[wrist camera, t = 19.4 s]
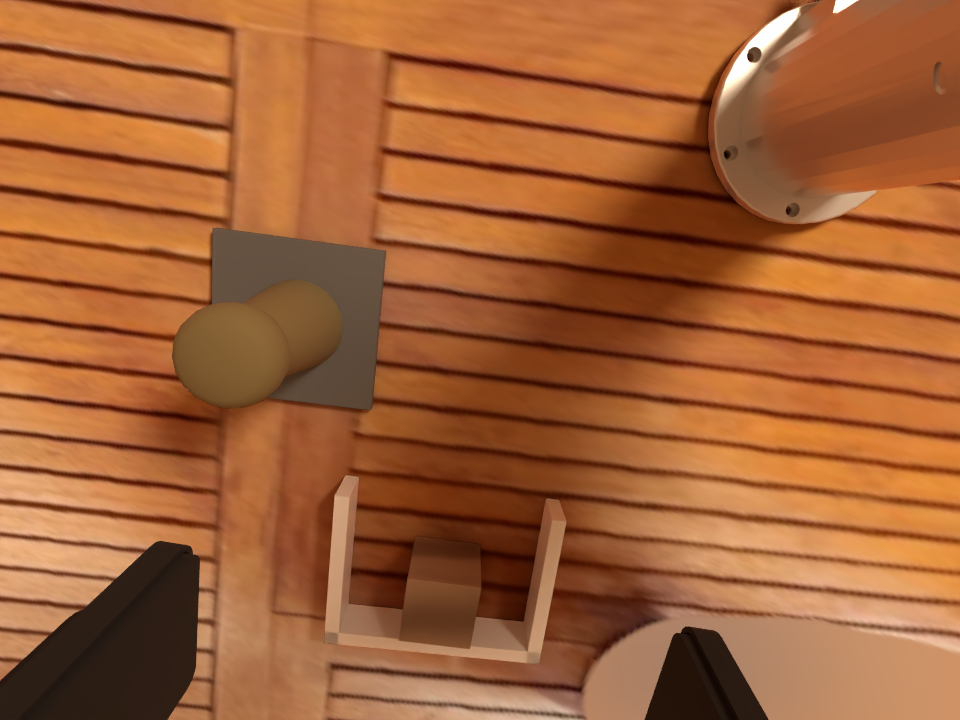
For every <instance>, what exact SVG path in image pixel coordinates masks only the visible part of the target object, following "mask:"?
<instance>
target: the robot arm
mask: <svg viewBox="0 0 960 720" xmlns="http://www.w3.org/2000/svg"><path fill="white" fill-rule="evenodd" d="M747 56H748V57H749V61H748V59H747ZM708 140H709V148H710V155H711V159H712V162H713V165H714V168H715V171H716V174H717V176H718V178H719V179H720V181H721V183H722V184H723V186H724V188H725V190H726V191H727V192H728V193H729V194H730V195H731V197H732V198H733V199H734V200H735V201H736V202H737V203H738V204H739V205H741V206H742V207H743V208H745V209H746V210H747V211H749V212H750V213H752V214H754V215H756V216H758V217H761V218H763V219H765V220H768V221H772V222H778V223H783V224H806V223H816V222H822V221H826V220H829V219H832V218H835V217H839V216H841V215H843V214H845V213H847V212H849V211H851V210H853V209H855V208H857V207H858V206H860V205H861V204H862V203H864V202H865V201H866V200H868V199H869V198H870V197H872V196H873V195H874V194H875V193H876V192H877V191H878V190H882V189H890V188H898V187H906V186H914V185H922V184H930V183H938V182H945V181H953V180H960V0H821V1H817V2H812V3H807V4H803V5H800V6H798V7H796V8H793V9H791V10H789V11H786V12H784V13H782V14H781V15H779V16H778V17H776V18H775V19H773V20H772V21H770V22H769V23H767V24H766V25H764V26H763V27H762V28H761V29H759V30H758V31H757V32H756V33H754V34H753V35H752V36H751V37H750V38H748V39H747V40H746V42H745V43H744V44H743V45H742V46H741V47H740V49H739V50H738V51H737V52H736V53H735V54H734V55H733V57H732V59H731V60H730V62H729V64H728V65H727V67H726V68H725V70H724V72H723V73H722V75H721V78H720V80H719V83H718V85H717V88H716V90H715V93H714V95H713V100H712V104H711V109H710V113H709V125H708ZM724 152H726V153H727V158H726V159H725V157H724ZM786 208H787V213H786ZM199 570H200V559H199V556H197V555H193V551H192V548H191V546H188V545H182V544H176V543H170V542H164V541H158V542H156V543H154V544H153V545H152V546H151V547H149V548H148V549H147V550H146V551H145V552H144V553H143V554H142V555H141V556H140V557H139V558H138V559H137V560H136V561H135V562H133V563H132V564H131V565H130V566H129V567H128V568H127V569H126V570H125V571H124V572H123V573H122V574H121V575H120V576H119V577H117V578H116V579H115V580H114V581H113V582H112V583H111V584H110V585H109V586H108V587H107V588H106V589H105V590H104V591H103V592H102V593H100V594H99V595H98V596H97V597H96V598H95V599H94V600H93V601H92V602H91V603H90V604H89V605H88V606H87V607H86V608H84V609H83V610H81V611H79V612H76V613H74V614H73V615H72V616H71V617H69V618H68V619H67V620H65V621H64V622H63V623H62V624H61V625H60V626H59V627H58V628H57V629H56V630H55V631H54V632H52V633H51V634H50V635H49V636H48V637H47V638H46V639H45V640H44V641H43V642H42V643H41V644H40V645H38V646H37V647H36V648H35V649H34V650H33V651H32V652H31V653H30V654H29V655H28V656H27V657H25V658H24V659H23V660H22V661H21V662H20V663H19V664H18V665H17V666H16V667H15V668H14V669H12V670H11V671H10V672H9V673H8V674H7V675H6V676H5V677H4V678H3V679H2V680H1V681H0V720H167V719H168V718H169V716H170V715H171V713H172V712H173V710H174V708H175V707H176V705H177V704H178V702H179V701H180V699H181V698H182V696H183V695H184V693H185V692H186V690H187V688H188V687H189V685H190V683H191V681H192V678H193V675H194V672H195V668H196V651H197V624H198V597H199ZM645 720H768V718H767V716H766V714H765V713H764V711H763V709H762V707H761V706H760V704H759V702H758V701H757V699H756V697H755V695H754V693H753V692H752V690H751V688H750V686H749V685H748V683H747V681H746V679H745V678H744V676H743V674H742V672H741V671H740V669H739V667H738V666H737V664H736V662H735V660H734V659H733V657H732V655H731V653H730V651H729V650H728V648H727V646H726V644H725V643H724V641H723V639H722V637H721V636H720V635H719V633H717V632H716V631H713V630H706V629H700V628H694V627H685V628H683V629H682V632H681V633H676V634H674V636H673V638H672V640H671V643H670V647H669V649H668V652H667V655H666V658H665V661H664V664H663V667H662V670H661V673H660V676H659V679H658V682H657V685H656V688H655V691H654V694H653V697H652V700H651V702H650V705H649V708H648V711H647V714H646V718H645Z"/></svg>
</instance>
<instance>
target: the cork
mask: <svg viewBox="0 0 960 720" xmlns="http://www.w3.org/2000/svg"><path fill="white" fill-rule="evenodd" d="M342 331H343V324H342V317H341V313H340V311H339V309H338V307H337V305H336V303H335V301H334V300H333V299H332V298H331V296H330V295H329V294H328V293H327V292H326V291H325V290H323V289H322V288H320V287H318V286H317V285H315V284H313V283H311V282H307V281H303V280H299V279H295V280H283V281H281V282H278V283H276V284H274V285H271V286H269V287H268V288H266V289H265V290H263V291H261V292H260V293H258V294H257V295H255V296H253V297H252V298H250V299H249V300H247V301H245V302H244V303H237V302H227V303H216V304H212V305H209V306H207V307H205V308H202V309H200V310H198V311H196V312H195V313H194V314H193V315H191V316H190V317H189V318H188V319H187V320H186V321H185V322H184V323H183V324H182V325H181V326H180V328H179V330H178V332H177V334H176V336H175V338H174V343H173V352H172V359H173V363H174V368H175V372H176V374H177V376H178V377H179V379H180V381H181V383H182V384H183V386H184V387H185V388H186V389H187V390H188V391H190V392H191V393H192V394H193V395H194V396H195V397H197V398H199V399H201V400H202V401H204V402H206V403H208V404H210V405H213V406H217V407H222V408H226V409H229V408H242V407H248V406H251V405H253V404H256V403H258V402H261V401H263V400H264V399H266V398H267V397H268V396H269V395H270V394H272V393H273V392H274V391H275V390H276V389H277V388H278V387H279V386H280V385H281V383H282V381H283V379H284V377H285V376H288V375H291V374H293V373H296V372H299V371H302V370H305V369H308V368H310V367H313V366H315V365H318V364H320V363H323V362H325V361H326V360H327V359H328V358H329V357H330V356H331V355H333V354H334V352H335V351H336V349H337V347H338V345H339V344H340V342H341V337H342Z"/></svg>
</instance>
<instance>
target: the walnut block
mask: <svg viewBox="0 0 960 720" xmlns="http://www.w3.org/2000/svg"><path fill="white" fill-rule="evenodd" d="M480 593H481V556H480V544H475V543H467V542H460V541H452V540H445V539H437V538H430V537H422V536H415V541H414V546H413V552H412V557H411V562H410V568H409V573H408V578H407V585H406V592H405V599H404V606H403V613H402V619H401V626H400V633H399V640H398V641H405V642H413V643H422V644H430V645H438V646H447V647H455V648H463V649H470V647H471V641H472V636H473V631H474V625H475V620H476V615H477V609H478V604H479V598H480Z"/></svg>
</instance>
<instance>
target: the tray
mask: <svg viewBox="0 0 960 720" xmlns="http://www.w3.org/2000/svg"><path fill="white" fill-rule="evenodd" d="M358 485H359V477H356V476H347V475H345V477H344V479H343V481H342V483H341V485H340V487H339V488H338V490H337V492H336V494H335V498H334V511H333V525H332V539H331V552H330V566H329V580H328V593H327V607H326V621H325V634H324V643H328V644H338V645H349V646H359V647H369V648H379V649H389V650H399V651H410V652H420V653H430V654H440V655H450V656H460V657H471V658H481V659H491V660H501V661H511V662H522V663H532V664H539V660H540V655H541V650H542V645H543V640H544V635H545V630H546V624H547V619H548V614H549V609H550V604H551V599H552V594H553V588H554V583H555V578H556V573H557V568H558V563H559V558H560V552H561V547H562V542H563V537H564V532H565V527H566V519H565V516H564V513H563V510H562V507H561V504H560V501H559V500H557V499H549V498H546V501H545V506H544V512H543V517H542V523H541V528H540V534H539V539H538V545H537V550H536V556H535V561H534V567H533V572H532V578H531V583H530V589H529V594H528V600H527V605H526V611H525V616H524V622H522V621H512V620H502V619H492V618H483V617H476V620H475V625H474V631H473V636H472V641H471V647H470V649H463V648H455V647H447V646H438V645H430V644H422V643H413V642H405V641H398V640H399V633H400V626H401V619H402V613H403V609H395V608H385V607H375V606H365V605H356V604H348V603H349V591H350V579H351V567H352V556H353V544H354V532H355V520H356V509H357V497H358Z"/></svg>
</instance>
